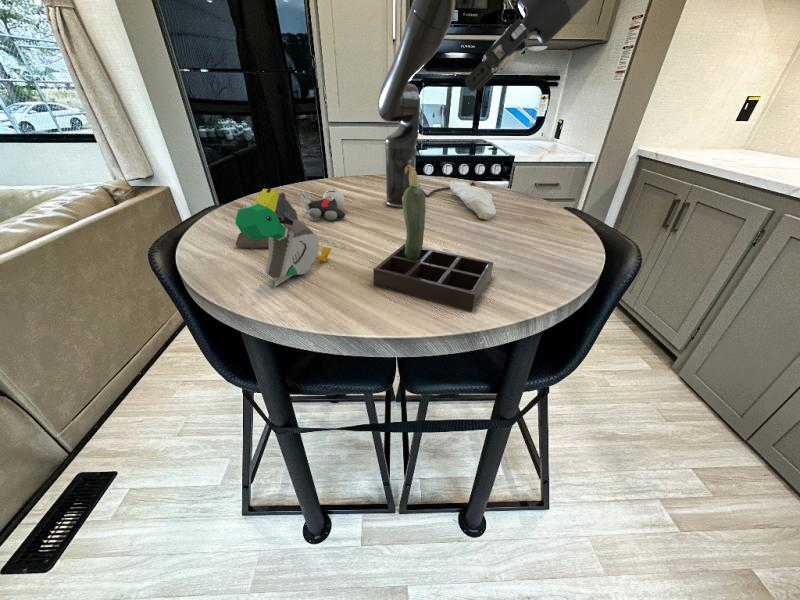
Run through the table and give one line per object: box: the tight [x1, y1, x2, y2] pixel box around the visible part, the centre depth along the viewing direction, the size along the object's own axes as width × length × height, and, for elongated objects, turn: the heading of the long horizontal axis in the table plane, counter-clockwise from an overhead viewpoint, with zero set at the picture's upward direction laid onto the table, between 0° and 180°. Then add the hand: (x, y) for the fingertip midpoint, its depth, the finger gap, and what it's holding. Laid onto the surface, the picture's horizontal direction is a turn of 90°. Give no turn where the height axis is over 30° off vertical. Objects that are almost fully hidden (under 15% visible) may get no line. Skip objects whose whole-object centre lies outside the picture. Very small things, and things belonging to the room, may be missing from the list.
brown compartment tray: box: [372, 243, 494, 312], centre depth 63 cm, size 13×20×4 cm
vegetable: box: [402, 165, 426, 261], centre depth 63 cm, size 4×4×20 cm
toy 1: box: [234, 188, 332, 288], centre depth 63 cm, size 6×17×20 cm
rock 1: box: [235, 191, 299, 249], centre depth 79 cm, size 11×11×15 cm
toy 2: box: [297, 188, 346, 221], centre depth 97 cm, size 15×7×15 cm
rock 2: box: [448, 180, 497, 220], centre depth 104 cm, size 14×5×30 cm
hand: (470, 86), depth 56 cm, fingers open, 8 cm apart
